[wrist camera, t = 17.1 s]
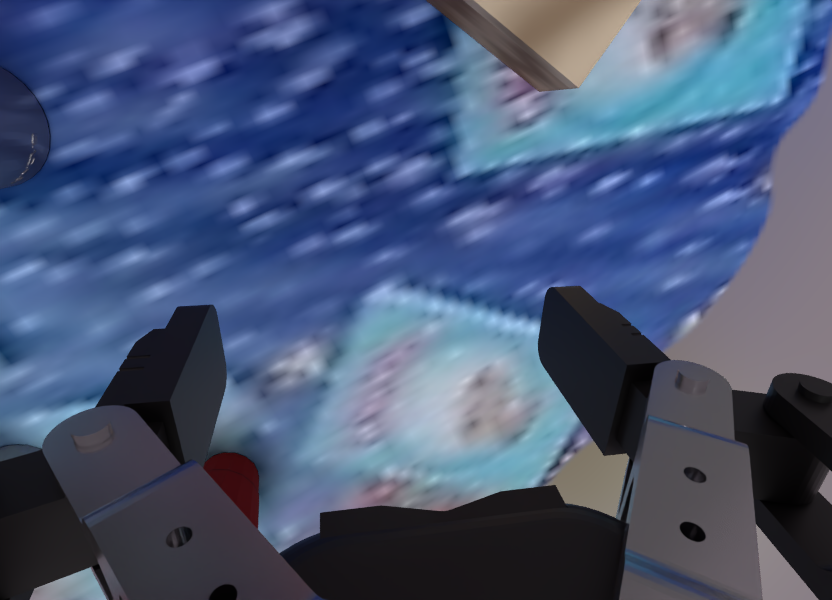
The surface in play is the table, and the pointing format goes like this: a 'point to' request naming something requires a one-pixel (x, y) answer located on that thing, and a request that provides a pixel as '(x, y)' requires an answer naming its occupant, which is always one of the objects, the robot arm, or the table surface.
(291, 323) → the table surface
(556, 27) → the wooden stand
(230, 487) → the plastic cup
